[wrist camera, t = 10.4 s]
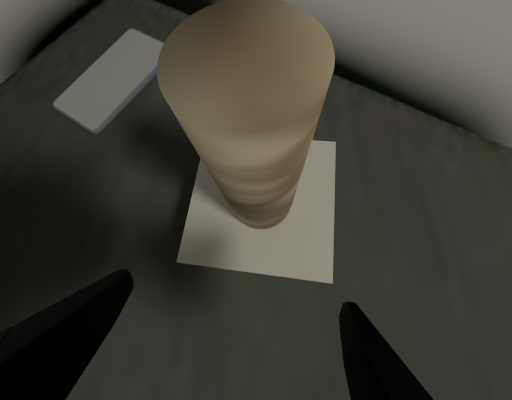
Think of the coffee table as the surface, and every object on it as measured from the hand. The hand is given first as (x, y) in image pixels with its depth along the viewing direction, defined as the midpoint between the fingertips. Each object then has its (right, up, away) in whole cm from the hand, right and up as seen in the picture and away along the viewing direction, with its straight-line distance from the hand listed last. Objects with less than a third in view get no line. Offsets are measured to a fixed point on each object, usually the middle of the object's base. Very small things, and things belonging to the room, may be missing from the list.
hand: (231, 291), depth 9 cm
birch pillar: (+1, +4, +10) cm, 10 cm away
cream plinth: (+2, +3, +12) cm, 13 cm away
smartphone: (-17, +19, +20) cm, 32 cm away
